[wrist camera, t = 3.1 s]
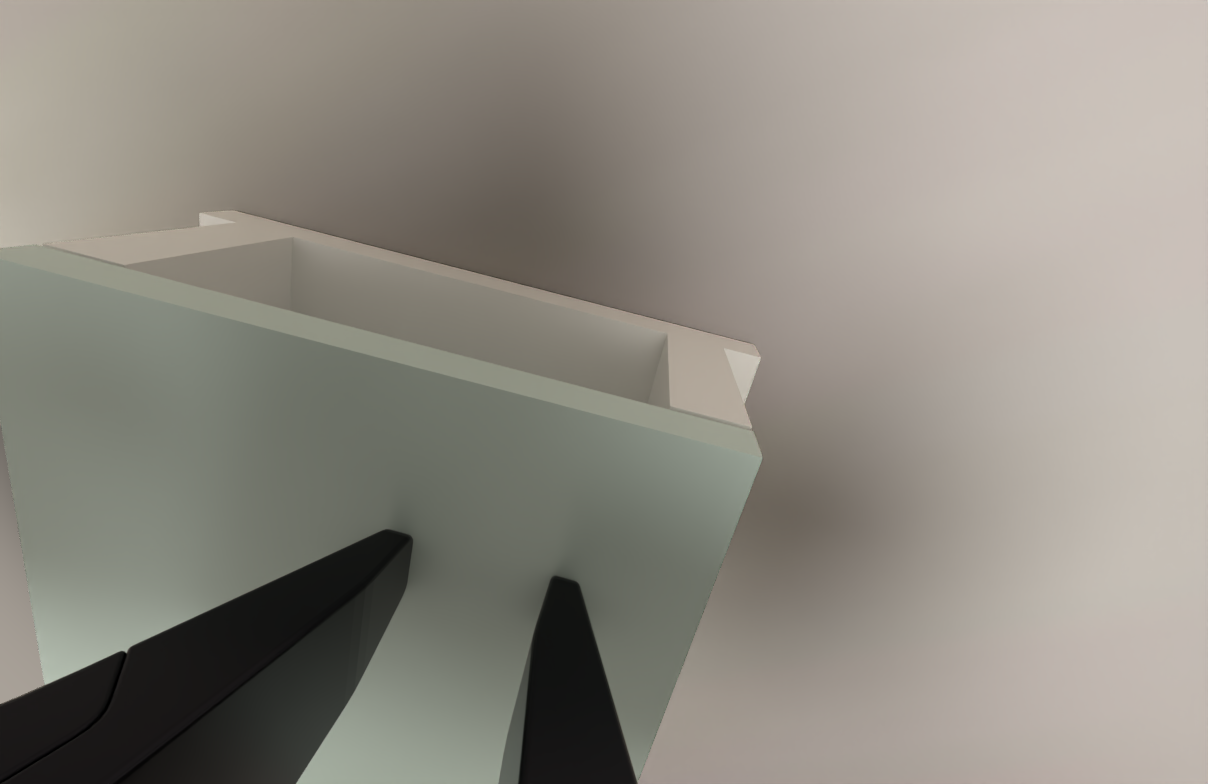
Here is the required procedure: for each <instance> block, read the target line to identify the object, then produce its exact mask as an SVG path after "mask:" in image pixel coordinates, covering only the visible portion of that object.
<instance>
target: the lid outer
mask: <svg viewBox="0 0 1208 784" xmlns="http://www.w3.org/2000/svg"><path fill="white" fill-rule="evenodd" d="M0 423H1V429H2V435H3V440H4V446H5V453H6V459H7V465H8V471H9V477H10V482H11V488H12V494H13V500H14V506H15V512H16V518H17V524H18V530H19V535H20V542H21V548H22V553H23V559H24V566H25V571H26V577H27V583H28V589H29V595H30V601H31V607H32V613H33V619H34V625H35V631H36V637H37V643H38V649H39V655H40V661H41V667H42V672H43V679H44V684H45V685H46V684H48V683H51V682H53V681H55V680H57V679H60V678H62V677H64V676H66V675H69V674H71V673H73V672H75V671H78V670H80V669H82V668H84V667H87V666H89V665H91V664H93V663H95V662H97V661H100V660H102V659H104V658H106V657H108V656H110V655H113V654H115V653H117V652H119V651H125V652H126V653H127V650H128V649H129V648H130V647H131V646H133V645H135V644H137V643H139V642H141V641H143V640H146V639H148V638H150V637H152V636H154V635H156V634H159V633H161V632H163V631H165V630H167V629H169V628H172V627H174V626H176V625H178V624H180V623H182V622H185V621H187V620H189V619H191V618H193V617H195V616H198V615H200V614H202V613H204V612H206V611H208V610H210V609H213V608H215V607H217V606H219V605H221V604H223V603H226V602H228V601H230V600H232V599H234V598H236V597H239V596H241V595H243V594H245V593H247V592H249V591H252V590H254V589H256V588H258V587H260V586H262V585H265V584H267V583H269V582H271V581H273V580H275V579H278V578H280V577H282V576H284V575H286V574H288V573H291V572H293V571H295V570H297V569H299V568H301V567H304V566H306V565H308V564H310V563H312V562H314V561H317V560H319V559H321V558H323V557H325V556H327V555H329V554H332V553H334V552H336V551H338V550H340V549H342V548H345V547H347V546H349V545H351V544H353V543H355V542H358V541H360V540H362V539H364V538H366V537H368V536H371V535H373V534H375V533H377V532H379V531H381V530H385V529H391V530H395V531H398V532H402V533H405V534H409V535H411V537H412V538H413V547H412V554H411V561H410V568H409V575H408V582H407V587H406V590H405V592H404V595H403V597H402V599H401V601H400V603H399V605H398V607H397V609H396V611H395V613H394V615H393V617H392V619H391V621H390V623H389V625H388V627H387V629H386V631H385V633H384V635H383V637H382V639H381V641H380V643H379V645H378V647H377V649H376V651H375V653H374V655H373V657H372V659H371V661H370V663H369V665H368V667H367V669H366V671H365V672H364V674H363V676H362V678H361V680H360V682H359V684H358V686H357V688H356V690H355V692H354V693H353V695H352V697H351V698H350V700H349V702H348V703H347V705H346V707H345V708H344V710H343V711H342V713H341V715H340V716H339V718H338V719H337V721H336V722H335V724H334V725H333V727H332V729H331V730H330V732H329V733H328V735H327V736H326V738H325V739H324V741H323V743H322V744H321V746H320V747H319V749H318V750H317V752H316V754H315V755H314V757H313V758H312V760H311V761H310V763H309V764H308V766H307V768H306V769H305V771H304V772H303V774H302V775H301V777H300V778H299V780H298V782H297V783H296V784H498V783H499V777H500V771H501V765H502V759H503V754H504V749H505V744H506V739H507V734H508V730H509V726H510V722H511V718H512V714H513V711H514V707H515V703H516V699H517V695H518V691H519V687H520V683H521V679H522V676H523V672H524V668H525V664H526V660H527V656H528V652H529V648H530V644H531V641H532V637H533V633H534V629H535V625H536V622H537V619H538V616H539V613H540V610H541V607H542V604H543V600H544V597H545V594H546V591H547V588H548V585H549V582H550V579H551V578H552V577H553V576H560V577H563V578H567V579H570V580H574V581H577V582H578V583H579V585H580V587H581V591H582V594H583V598H584V601H585V604H586V608H587V611H588V615H589V618H590V621H591V625H592V628H593V632H594V635H595V639H596V642H597V645H598V649H599V652H600V656H601V659H602V663H603V666H604V669H605V673H606V676H607V680H608V683H609V687H610V690H611V693H612V697H613V700H614V704H615V707H616V711H617V714H618V717H619V721H620V724H621V728H622V731H623V734H624V738H625V741H626V745H627V748H628V752H629V755H630V758H631V762H632V765H633V769H634V772H635V776H636V779H637V782H638V780H639V778H640V775H641V772H642V770H643V767H644V765H645V762H646V759H647V757H648V754H649V752H650V749H651V746H652V744H653V741H654V739H655V736H656V733H657V731H658V728H659V726H660V723H661V721H662V718H663V715H664V713H665V710H666V708H667V705H668V702H669V700H670V697H671V695H672V692H673V689H674V687H675V684H676V682H677V679H678V676H679V674H680V671H681V669H682V666H683V664H684V661H685V658H686V656H687V653H688V651H689V648H690V645H691V643H692V640H693V638H694V635H695V632H696V630H697V627H698V625H699V622H700V619H701V617H702V614H703V612H704V609H705V607H706V604H707V601H708V599H709V596H710V594H711V591H712V588H713V586H714V583H715V581H716V578H717V575H718V573H719V570H720V568H721V565H722V563H723V560H724V557H725V555H726V552H727V550H728V547H729V544H730V542H731V539H732V537H733V534H734V531H735V529H736V526H737V524H738V521H739V518H740V516H741V513H742V511H743V508H744V506H745V503H746V500H747V498H748V495H749V493H750V490H751V487H752V485H753V482H754V480H755V477H756V474H757V472H758V469H759V467H760V464H761V461H762V459H763V457H762V454H761V451H760V448H759V445H758V442H757V439H756V437H755V434H754V431H750V430H746V429H742V428H738V427H734V426H731V425H727V424H723V423H719V422H715V421H711V420H707V419H704V418H700V417H696V416H692V415H688V414H684V413H681V412H677V411H673V410H669V409H665V408H661V407H658V406H654V405H650V404H646V403H642V402H638V401H635V400H631V399H627V398H623V397H619V396H615V395H611V394H608V393H604V392H600V391H596V390H592V389H588V388H585V387H581V386H577V385H573V384H569V383H565V382H562V381H558V380H554V379H550V378H546V377H542V376H538V375H535V374H531V373H527V372H523V371H519V370H515V369H512V368H508V367H504V366H500V365H496V364H492V363H489V362H485V361H481V360H477V359H473V358H469V357H465V356H462V355H458V354H454V353H450V352H446V351H442V350H439V349H435V348H431V347H427V346H423V345H419V344H416V343H412V342H408V341H404V340H400V339H396V338H392V337H389V336H385V335H381V334H377V333H373V332H369V331H366V330H362V329H358V328H354V327H350V326H346V325H343V324H339V323H335V322H331V321H327V320H323V319H320V318H316V317H312V316H308V315H304V314H300V313H296V312H293V311H289V310H285V309H281V308H277V307H273V306H270V305H266V304H262V303H258V302H254V301H250V300H247V299H243V298H239V297H235V296H231V295H227V294H223V293H220V292H216V291H212V290H208V289H204V288H200V287H197V286H193V285H189V284H185V283H181V282H177V281H174V280H170V279H166V278H162V277H158V276H154V275H150V274H147V273H143V272H139V271H135V270H131V269H127V268H124V267H120V266H116V265H112V264H108V263H104V262H101V261H97V260H93V259H89V258H85V257H81V256H78V255H74V254H70V253H66V252H62V251H58V250H54V249H51V248H47V247H43V246H39V245H27V246H18V247H9V248H0Z"/></svg>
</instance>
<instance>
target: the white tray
mask: <svg viewBox="0 0 1208 784" xmlns="http://www.w3.org/2000/svg"><path fill="white" fill-rule="evenodd" d="M199 224H200V227H191V228H182V229H173V230H163V231H154V232H145V233H136V234H127V235H118V236H109V237H100V238H91V239H82V240H73V241H64V242H55V243H46V244H43V247H47V248H51V249H54V250H58V251H62V252H66V253H70V254H74V255H78V256H81V257H85V258H89V259H93V260H97V261H101V262H104V263H108V264H112V265H116V266H120V267H124V268H127V269H131V270H135V271H139V272H143V273H147V274H150V275H154V276H158V277H162V278H166V279H170V280H174V281H177V282H181V283H185V284H189V285H193V286H197V287H200V288H204V289H208V290H212V291H216V292H220V293H223V294H227V295H231V296H235V297H239V298H243V299H247V300H250V301H254V302H258V303H262V304H266V305H270V306H273V307H277V308H281V309H285V310H289V311H293V312H296V313H300V314H304V315H308V316H312V317H316V318H320V319H323V320H327V321H331V322H335V323H339V324H343V325H346V326H350V327H354V328H358V329H362V330H366V331H369V332H373V333H377V334H381V335H385V336H389V337H392V338H396V339H400V340H404V341H408V342H412V343H416V344H419V345H423V346H427V347H431V348H435V349H439V350H442V351H446V352H450V353H454V354H458V355H462V356H465V357H469V358H473V359H477V360H481V361H485V362H489V363H492V364H496V365H500V366H504V367H508V368H512V369H515V370H519V371H523V372H527V373H531V374H535V375H538V376H542V377H546V378H550V379H554V380H558V381H562V382H565V383H569V384H573V385H577V386H581V387H585V388H588V389H592V390H596V391H600V392H604V393H608V394H611V395H615V396H619V397H623V398H627V399H631V400H635V401H638V402H642V403H646V404H650V405H654V406H658V407H661V408H665V409H669V410H673V411H677V412H681V413H684V414H688V415H692V416H696V417H700V418H704V419H707V420H711V421H715V422H719V423H723V424H727V425H731V426H734V427H738V428H742V429H746V430H750V431H751V429H752V425H751V422H750V420H749V417H748V414H747V411H746V408H745V406H744V405H745V402H746V399H747V396H748V393H749V391H750V388H751V385H752V382H753V379H754V377H755V374H756V371H757V368H758V366H759V363H760V360H761V356H760V355H759V353H758V351H757V349H756V347H755V345H754V344H750V343H746V342H742V341H738V340H735V339H731V338H727V337H723V336H719V335H715V334H711V333H707V332H704V331H700V330H696V329H692V328H688V327H684V326H680V325H676V324H673V323H669V322H665V321H661V320H657V319H653V318H649V317H645V316H642V315H638V314H634V313H630V312H626V311H622V310H618V309H614V308H611V307H607V306H603V305H599V304H595V303H591V302H587V301H583V300H580V299H576V298H572V297H568V296H564V295H560V294H556V293H552V292H548V291H545V290H541V289H537V288H533V287H529V286H525V285H521V284H517V283H514V282H510V281H506V280H502V279H498V278H494V277H490V276H486V275H483V274H479V273H475V272H471V271H467V270H463V269H459V268H455V267H452V266H448V265H444V264H440V263H436V262H432V261H428V260H424V259H421V258H417V257H413V256H409V255H405V254H401V253H397V252H393V251H390V250H386V249H382V248H378V247H374V246H370V245H366V244H362V243H359V242H355V241H351V240H347V239H343V238H339V237H335V236H331V235H327V234H324V233H320V232H316V231H312V230H308V229H304V228H300V227H296V226H293V225H289V224H285V223H281V222H277V221H273V220H269V219H265V218H262V217H258V216H254V215H250V214H246V213H242V212H238V211H234V210H228V211H215V212H203V213H199Z"/></svg>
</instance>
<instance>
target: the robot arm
mask: <svg viewBox="0 0 1208 784" xmlns="http://www.w3.org/2000/svg"><path fill="white" fill-rule="evenodd" d="M412 547H413V538H412V537H411V535H409V534H405V533H402V532H398V531H395V530H391V529H385V530H381V531H379V532H377V533H375V534H373V535H371V536H368V537H366V538H364V539H362V540H360V541H358V542H355V543H353V544H351V545H349V546H347V547H345V548H342V549H340V550H338V551H336V552H334V553H332V554H329V555H327V556H325V557H323V558H321V559H319V560H317V561H314V562H312V563H310V564H308V565H306V566H304V567H301V568H299V569H297V570H295V571H293V572H291V573H288V574H286V575H284V576H282V577H280V578H278V579H275V580H273V581H271V582H269V583H267V584H265V585H262V586H260V587H258V588H256V589H254V590H252V591H249V592H247V593H245V594H243V595H241V596H239V597H236V598H234V599H232V600H230V601H228V602H226V603H223V604H221V605H219V606H217V607H215V608H213V609H210V610H208V611H206V612H204V613H202V614H200V615H198V616H195V617H193V618H191V619H189V620H187V621H185V622H182V623H180V624H178V625H176V626H174V627H172V628H169V629H167V630H165V631H163V632H161V633H159V634H156V635H154V636H152V637H150V638H148V639H146V640H143V641H141V642H139V643H137V644H135V645H133V646H131V647H130V648H129V649H128V650H127V653H126V652H125V651H119V652H117V653H115V654H113V655H110V656H108V657H106V658H104V659H102V660H100V661H97V662H95V663H93V664H91V665H89V666H87V667H84V668H82V669H80V670H78V671H75V672H73V673H71V674H69V675H66V676H64V677H62V678H60V679H57V680H55V681H53V682H51V683H48V684H46V685H44V686H42V687H39V688H37V689H35V690H33V691H30V692H28V693H26V694H24V695H21V696H19V697H17V698H14V699H11V700H9V701H7V702H4V703H2V704H0V784H296V783H297V782H298V780H299V778H300V777H301V775H302V774H303V772H304V771H305V769H306V768H307V766H308V764H309V763H310V761H311V760H312V758H313V757H314V755H315V754H316V752H317V750H318V749H319V747H320V746H321V744H322V743H323V741H324V739H325V738H326V736H327V735H328V733H329V732H330V730H331V729H332V727H333V725H334V724H335V722H336V721H337V719H338V718H339V716H340V715H341V713H342V711H343V710H344V708H345V707H346V705H347V703H348V702H349V700H350V698H351V697H352V695H353V693H354V692H355V690H356V688H357V686H358V684H359V682H360V680H361V678H362V676H363V674H364V672H365V671H366V669H367V667H368V665H369V663H370V661H371V659H372V657H373V655H374V653H375V651H376V649H377V647H378V645H379V643H380V641H381V639H382V637H383V635H384V633H385V631H386V629H387V627H388V625H389V623H390V621H391V619H392V617H393V615H394V613H395V611H396V609H397V607H398V605H399V603H400V601H401V599H402V597H403V595H404V592H405V590H406V587H407V582H408V575H409V568H410V561H411V554H412ZM498 784H638V782H637V779H636V776H635V772H634V769H633V765H632V762H631V758H630V755H629V752H628V748H627V745H626V741H625V738H624V734H623V731H622V728H621V724H620V721H619V717H618V714H617V711H616V707H615V704H614V700H613V697H612V693H611V690H610V687H609V683H608V680H607V676H606V673H605V669H604V666H603V663H602V659H601V656H600V652H599V649H598V645H597V642H596V639H595V635H594V632H593V628H592V625H591V621H590V618H589V615H588V611H587V608H586V604H585V601H584V598H583V594H582V591H581V587H580V585H579V583H578V582H577V581H574V580H570V579H567V578H563V577H560V576H553V577H552V578H551V579H550V582H549V585H548V588H547V591H546V594H545V597H544V600H543V604H542V607H541V610H540V613H539V616H538V619H537V622H536V625H535V629H534V633H533V637H532V641H531V644H530V648H529V652H528V656H527V660H526V664H525V668H524V672H523V676H522V679H521V683H520V687H519V691H518V695H517V699H516V703H515V707H514V711H513V714H512V718H511V722H510V726H509V730H508V734H507V739H506V744H505V749H504V754H503V759H502V765H501V771H500V777H499V783H498Z"/></svg>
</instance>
